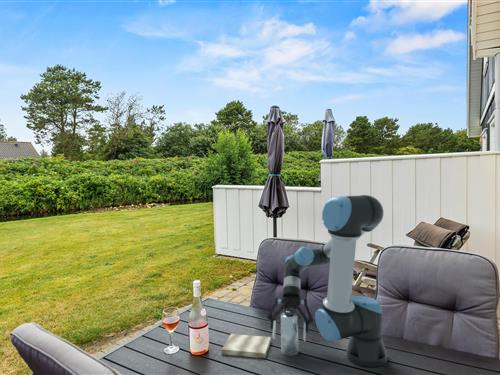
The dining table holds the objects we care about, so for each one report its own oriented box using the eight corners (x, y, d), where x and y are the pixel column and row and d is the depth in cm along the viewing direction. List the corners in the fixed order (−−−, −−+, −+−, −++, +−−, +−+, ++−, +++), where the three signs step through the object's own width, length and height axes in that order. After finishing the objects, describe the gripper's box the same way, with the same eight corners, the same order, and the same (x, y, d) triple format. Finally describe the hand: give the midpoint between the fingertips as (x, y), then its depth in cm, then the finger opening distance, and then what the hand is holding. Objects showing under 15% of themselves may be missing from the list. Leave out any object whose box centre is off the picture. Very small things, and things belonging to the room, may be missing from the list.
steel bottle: (299, 347, 143) (298, 308, 142) (297, 356, 136) (296, 315, 136) (282, 346, 144) (281, 307, 144) (280, 354, 138) (279, 314, 137)
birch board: (270, 341, 149) (270, 337, 149) (265, 358, 135) (265, 353, 135) (231, 338, 153) (231, 333, 153) (221, 354, 139) (221, 349, 139)
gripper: (319, 294, 152) (319, 344, 137) (266, 291, 157) (260, 340, 143) (319, 285, 147) (318, 337, 132) (263, 283, 152) (258, 333, 137)
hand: (288, 339), depth 137 cm, fingers open, 12 cm apart
